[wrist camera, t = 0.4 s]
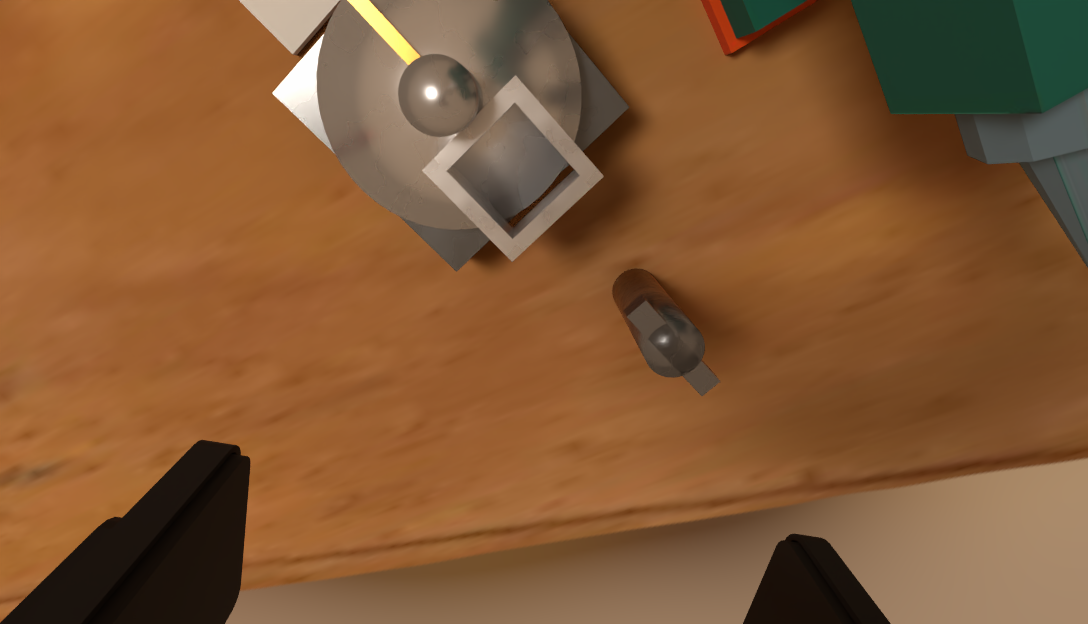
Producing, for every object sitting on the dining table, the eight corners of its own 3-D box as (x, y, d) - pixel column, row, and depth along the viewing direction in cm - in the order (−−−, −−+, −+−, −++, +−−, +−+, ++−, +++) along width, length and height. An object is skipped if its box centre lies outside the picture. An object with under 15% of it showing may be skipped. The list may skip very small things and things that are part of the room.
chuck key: (623, 243, 36) (660, 288, 27) (680, 306, 38) (734, 370, 28) (588, 274, 37) (612, 328, 27) (646, 335, 38) (688, 407, 29)
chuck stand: (459, -83, 30) (450, -111, 26) (616, 108, 33) (629, 107, 30) (300, 95, 32) (272, 93, 29) (462, 255, 36) (456, 271, 32)
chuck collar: (449, -115, 26) (430, -179, 20) (642, 122, 30) (672, 123, 24) (269, 92, 28) (207, 87, 23) (468, 285, 32) (458, 322, 26)
